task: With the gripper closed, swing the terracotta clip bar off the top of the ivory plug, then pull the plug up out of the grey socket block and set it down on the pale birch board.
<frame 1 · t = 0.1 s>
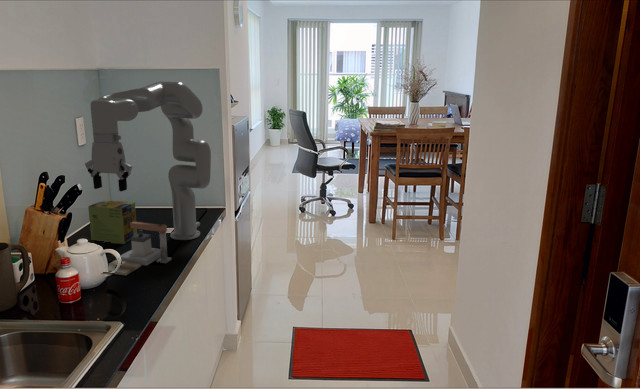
hand: (110, 189, 159), 31 cm above the worktop, fingers open, 9 cm apart
clip post: (164, 260, 181), on the worktop
plug: (142, 258, 183), resting in socket block
birch board: (120, 268, 173), on the worktop
clip: (148, 226, 179), point 13 cm above the worktop, hinge at 0.0°
protein box: (115, 239, 203), on the worktop
socket block: (142, 257, 183), on the worktop
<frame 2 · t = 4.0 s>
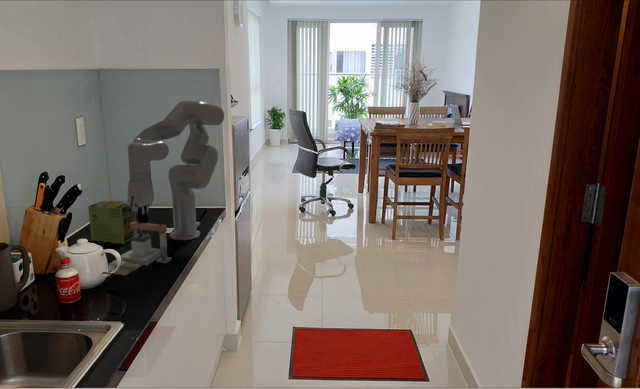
hand: (143, 223, 182), 13 cm above the worktop, fingers closed
clip: (148, 226, 179), point 13 cm above the worktop, hinge at 1.2°, touching gripper
everything else where it was.
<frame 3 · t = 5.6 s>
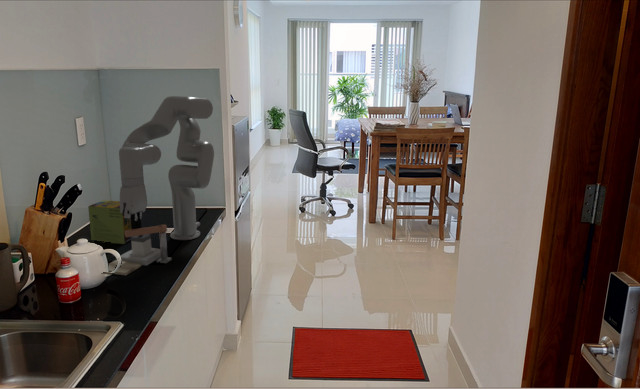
hand: (136, 229, 175), 13 cm above the worktop, fingers closed
clip: (146, 230, 175), point 13 cm above the worktop, hinge at 48.7°, touching gripper
everything else where it was.
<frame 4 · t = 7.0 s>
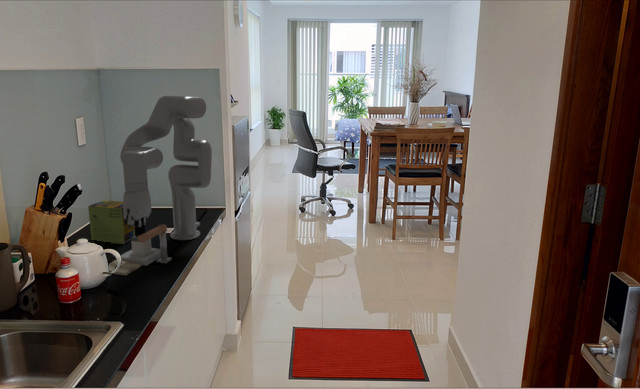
hand: (140, 236, 170), 13 cm above the worktop, fingers closed
clip: (153, 232, 172), point 13 cm above the worktop, hinge at 89.0°, touching gripper
everything else where it was.
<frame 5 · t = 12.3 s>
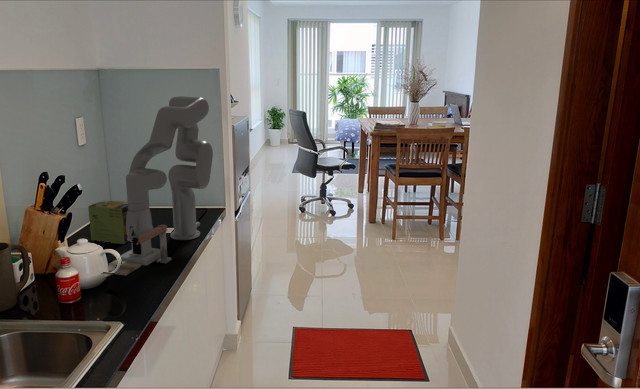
hand: (141, 250, 182), 3 cm above the worktop, fingers closed on plug, 5 cm apart
plug: (142, 258, 183), resting in socket block, touching gripper
clip: (153, 233, 172), point 13 cm above the worktop, hinge at 90.0°
everything else where it was.
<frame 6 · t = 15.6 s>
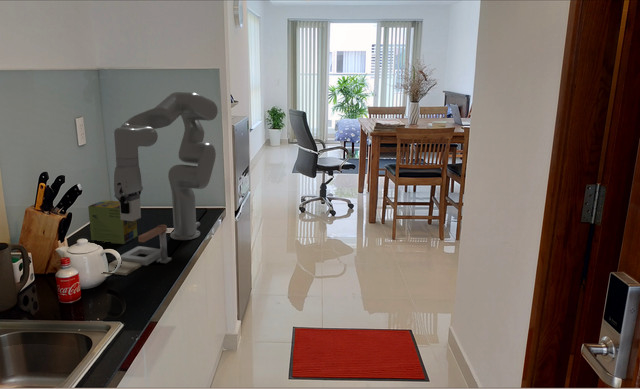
hand: (130, 210, 174), 20 cm above the worktop, fingers closed on plug, 5 cm apart
plug: (130, 218, 175), point 17 cm above the worktop, touching gripper
everything else where it was.
when the fingers open (6 cm above the worktop, at t = 19.0 s): plug drops 2 cm, resting on birch board.
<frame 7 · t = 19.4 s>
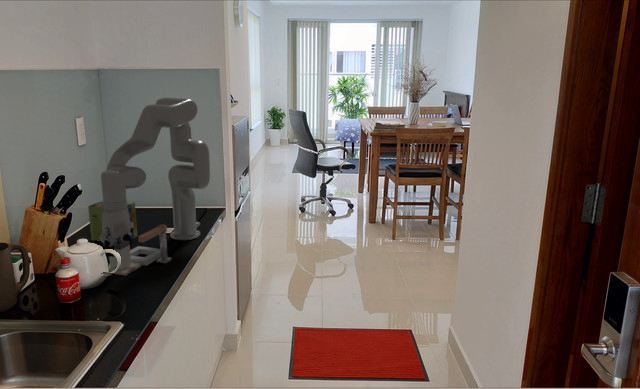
hand: (119, 251, 171), 7 cm above the worktop, fingers open, 9 cm apart
plug: (120, 266, 173), point 1 cm above the worktop, touching birch board
everything else where it was.
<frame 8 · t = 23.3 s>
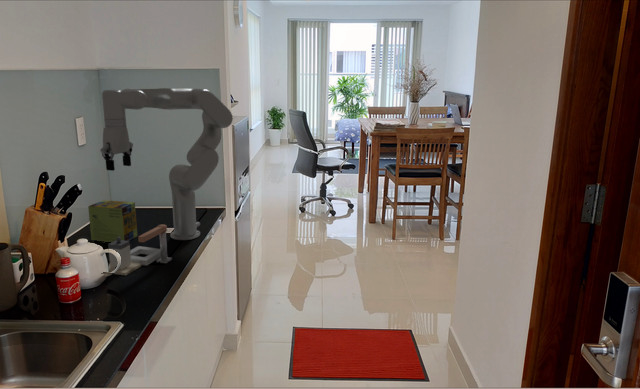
hand: (119, 167, 184), 33 cm above the worktop, fingers open, 9 cm apart
nothing on the worktop moved.
at the end: clip at +90° (first picture: +0°); plug inside the target area on the birch board (0.2 cm from its centre), point 1.0 cm above the birch board's base; plug tilted 0° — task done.
